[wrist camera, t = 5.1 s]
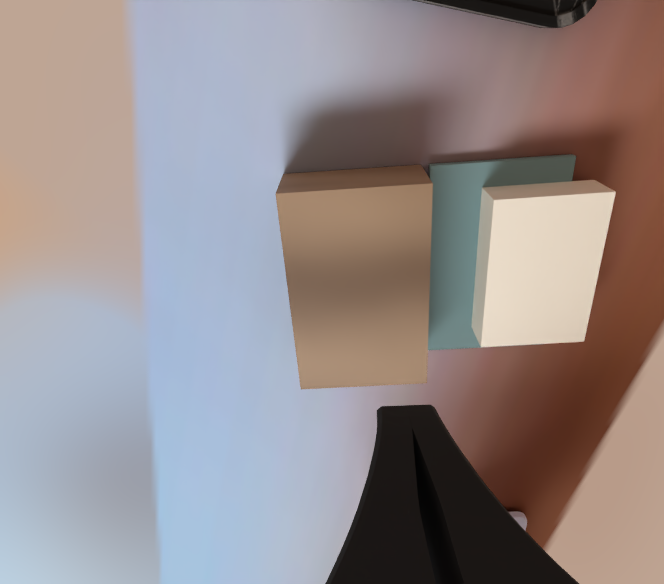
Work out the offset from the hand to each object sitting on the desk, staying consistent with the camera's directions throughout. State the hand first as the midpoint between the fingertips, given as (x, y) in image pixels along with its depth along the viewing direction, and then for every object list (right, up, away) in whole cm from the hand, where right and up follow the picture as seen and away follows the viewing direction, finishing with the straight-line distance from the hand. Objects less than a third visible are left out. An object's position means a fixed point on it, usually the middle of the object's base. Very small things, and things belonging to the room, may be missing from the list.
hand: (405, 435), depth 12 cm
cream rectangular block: (+6, +4, +5) cm, 9 cm away
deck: (-1, +5, +7) cm, 9 cm away
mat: (+4, +5, +7) cm, 10 cm away
